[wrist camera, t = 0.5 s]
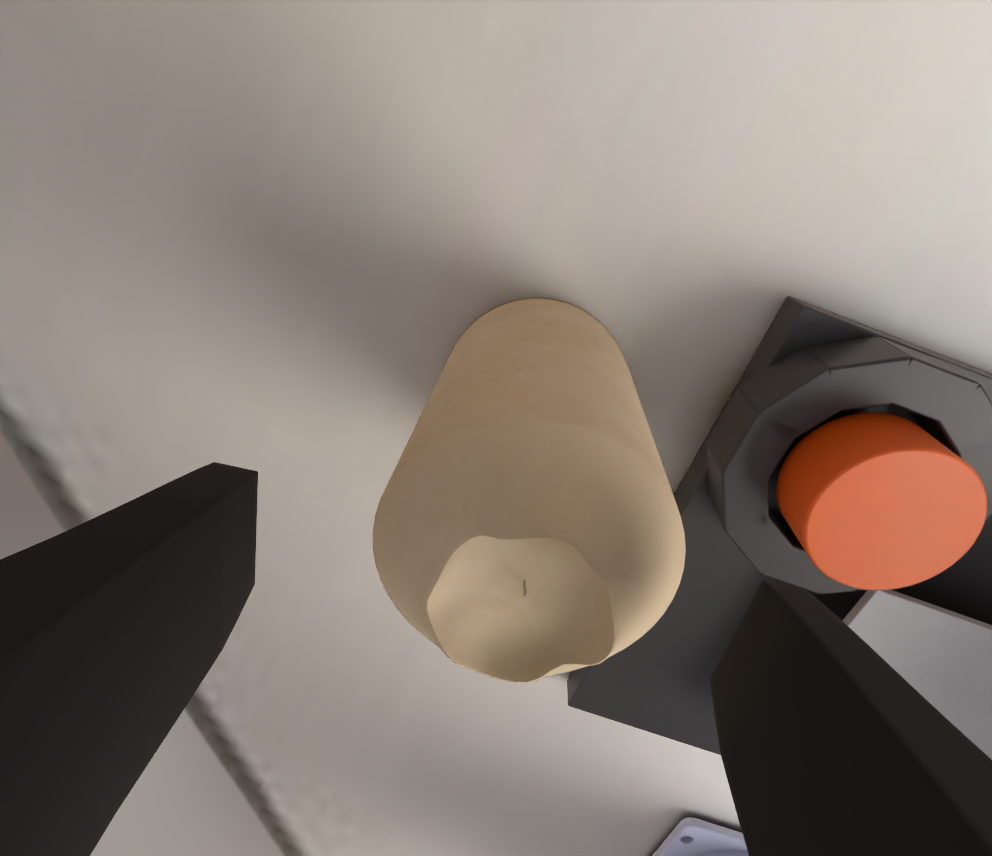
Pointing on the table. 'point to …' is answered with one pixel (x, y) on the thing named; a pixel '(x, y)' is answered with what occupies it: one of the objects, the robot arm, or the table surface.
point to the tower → (933, 656)
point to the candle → (531, 501)
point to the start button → (880, 501)
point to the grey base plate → (759, 522)
